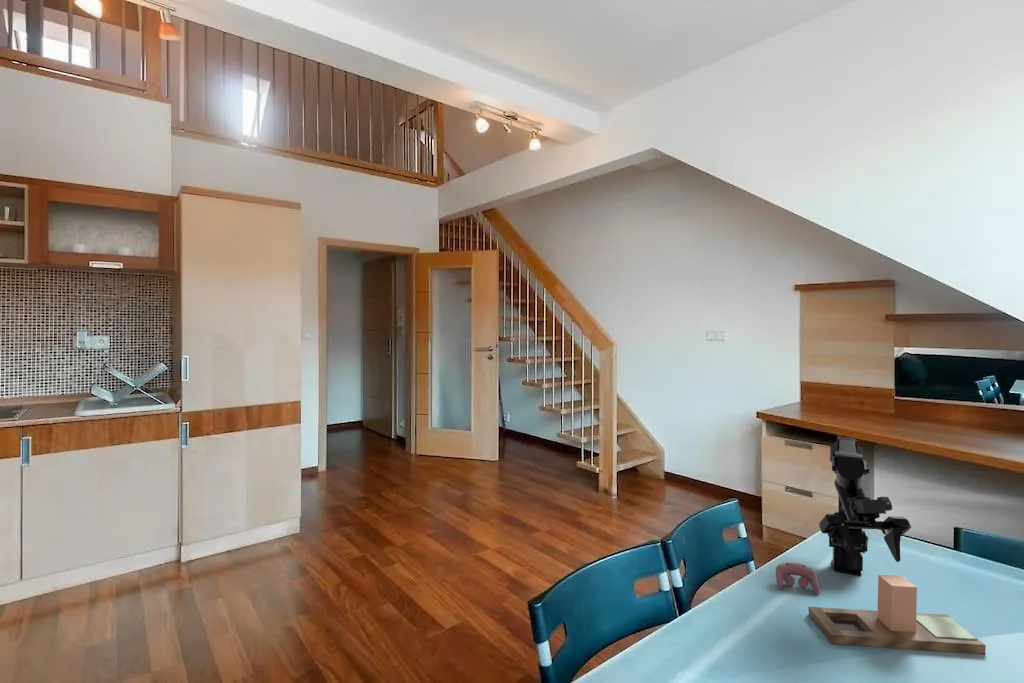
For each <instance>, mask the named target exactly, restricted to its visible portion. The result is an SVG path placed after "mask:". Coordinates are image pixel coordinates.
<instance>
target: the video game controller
mask: <svg viewBox="0 0 1024 683" xmlns="http://www.w3.org/2000/svg"><path fill="white" fill-rule="evenodd" d="M794 575H795V576H799V578H798V581H797V583H798V585H799V587H800V588H804V589H805V588H808V586H809V584H810V585H811V587H812V589H813V591H814V593H815V595H819V594H820V584H819V578H818V577H817V573H816V571H815V570H813V568H811V567H810V566H807V565H805V564H801V563H799V562H781V563H780V564H778V565H777V566H776V568H775V579H776V583H777V587H778V589H779V588H781V589H780V590H783V587H784V582H785V584H786V585H787V584H788V586H794V585H795V581H796V580H795V579H794V577H793V576H794Z"/></svg>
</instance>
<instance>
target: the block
mask: <svg viewBox="0 0 1024 683" xmlns="http://www.w3.org/2000/svg"><path fill="white" fill-rule="evenodd" d="M877 577H878V578H877V579H878V580H877V611H878V617H877V618H878V619H879V620H880V621H881V622H882V623H884V624H885V625H886V626H887V627H888V628H889V629H890V630H891V631H902V632H916V613H917V599H918V598H917V596H918V593H917V592H918V591H917V590H918V587H917V586H916V585H914V584H913V583H912V582H911V581H909V579H907V578H906V577H904V576H903V575H893V574H892V575H891V574H889V575H888V574H878V576H877Z"/></svg>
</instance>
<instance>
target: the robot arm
mask: <svg viewBox="0 0 1024 683" xmlns="http://www.w3.org/2000/svg"><path fill="white" fill-rule="evenodd" d="M863 452H864V451H863V448H862V447H861V446H860V445H859V444H858V440H857V439H855V438H849V437H837V438H836V441H835V442H833V443H832V444H830V446H829V462H830V463H831V471H832V472H834V474H835V475H836V478H835V481H834V483H833V484H834V486H835V490H836V492H837V495H838V498H837V499H838V501H837V502H838V505H837V506H838V508H837V509H838V510H837V512H834V513H826V514H825V515H824V516H823V518H822V519H821V521H819V529H820V532H821V533H822V534H827V536H828V547H829V548H832V559H831V566H832V569H833V571H835V572H839V573H845V574H849V575H850V574H851V575H854V576H862V572H863V571H864V570H863V568H864V567H863V566H864V564H863V563H864V560H863V559H864V556H863V554H865V553H867V552H868V547H869V546H868V545H869V537H868V536H867V534H866V531H865V530H881V532H882V534H884V535H885V536H883V540H884V541H885V544H886V545H887V547H888V549H889V551H890V554H891V556H892V557H893V559H894V561H896V563H899V562H901V539H902V536H904V534H906V533H907V532H908V531H909V530H910V529H911V528H912V525H911V522H910V521H909V520H908V518H906V517H904V516H890V515H889V516H887V517H886V518H885V519H884V520H883V521H881V520H876V519H880V517H881V516H880V514H884V515H886V514H887V512H889V511H892V510H893V505H892V501H891V500H890V498H889V497H888V496H878V497H877V498H876V499H872V498H870V497H868V496H866V494H865V491H864V489H863V485H864V477H865V476H867V475H868V474H870V470H871V469H870V465H869V464H868V463H867V460H866V459H865V460H864V457H863V456H864V454H863Z"/></svg>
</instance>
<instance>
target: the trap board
mask: <svg viewBox="0 0 1024 683" xmlns="http://www.w3.org/2000/svg"><path fill="white" fill-rule="evenodd" d="M808 616H809V617H810V619H811V620H812V621H813V622H814V623H815V625H816V626H817V628H818V629H819V630H820V631H821V632H822V634H824V636H825V637H826V639H827V640H828V641H829V642H830V644H832V645H842V644H847V645H846V646H856V645H859V646H861V647H871V646H872V647H873V648H888V649H889V648H890V649H900V650H901V649H902V650H903V649H905V650H918V651H930V650H936V651H935V652H944V651H948V652H947V653H959V652H967V653H966V654H974V653H985V654H986V644H985V643H983V642H982V640H980V639H978V638H977V636H975V635H974V634H972V632H970V631H969V630H967V629H966V628H965V627H964V626H962V625H961V624H960V623H958V622H957V621H956V620H954V619H953V618H951V616H949V615H948V614H941V613H940V614H938V613H937V614H936V613H921V612H916V632H902V631H891V630H890V629H889V628H888V627H887V626H886V625H885V624H884V623H882V622H881V621H880V620H879V619H878V618H877V617H878V610H870V609H857V608H856V609H854V608H853V609H852V608H839V607H837V608H836V607H821V606H808ZM859 646H858V647H859Z"/></svg>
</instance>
